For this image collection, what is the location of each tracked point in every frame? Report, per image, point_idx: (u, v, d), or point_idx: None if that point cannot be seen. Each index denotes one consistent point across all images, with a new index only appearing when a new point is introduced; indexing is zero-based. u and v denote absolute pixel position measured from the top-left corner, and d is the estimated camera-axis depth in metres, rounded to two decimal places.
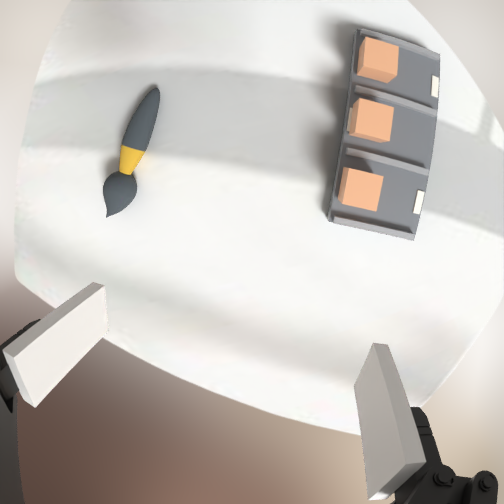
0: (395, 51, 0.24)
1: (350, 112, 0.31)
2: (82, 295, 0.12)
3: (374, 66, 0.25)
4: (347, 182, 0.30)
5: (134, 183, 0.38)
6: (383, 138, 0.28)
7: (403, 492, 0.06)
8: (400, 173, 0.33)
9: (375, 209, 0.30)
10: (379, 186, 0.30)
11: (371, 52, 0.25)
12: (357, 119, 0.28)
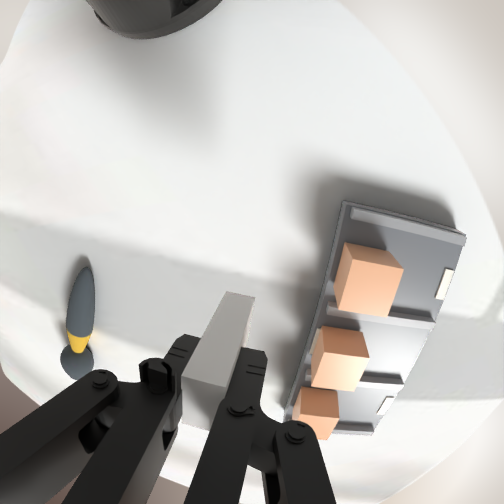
0: (395, 279, 0.19)
1: (316, 334, 0.26)
2: (226, 305, 0.14)
3: (355, 309, 0.21)
4: None
5: (88, 360, 0.34)
6: (346, 389, 0.23)
7: None
8: None
9: (326, 438, 0.26)
10: (333, 425, 0.25)
11: (356, 287, 0.20)
12: (316, 374, 0.23)
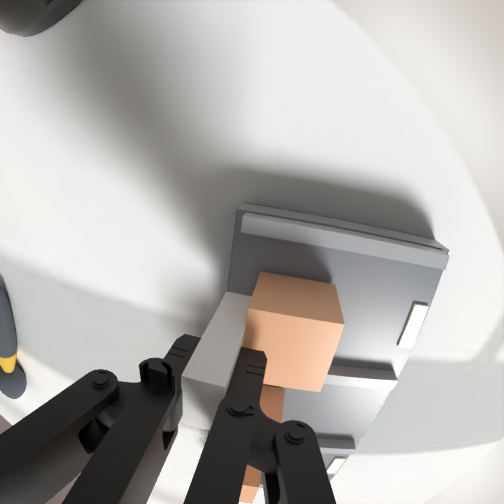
0: (330, 339, 0.12)
1: None
2: (226, 305, 0.14)
3: (265, 379, 0.13)
4: None
5: (18, 380, 0.26)
6: None
7: None
8: None
9: (250, 502, 0.18)
10: (253, 492, 0.17)
11: (261, 350, 0.12)
12: None
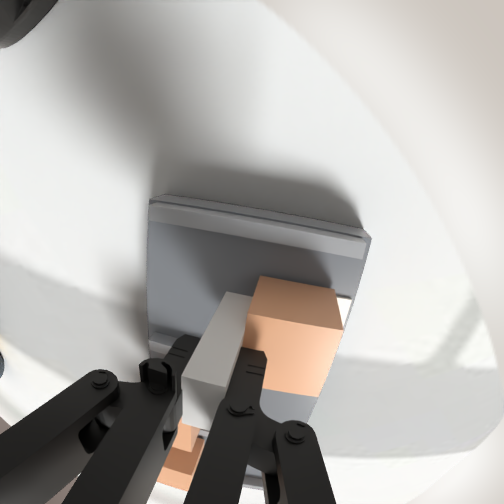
0: (329, 345, 0.12)
1: None
2: (226, 305, 0.14)
3: (263, 384, 0.13)
4: None
5: None
6: (180, 448, 0.16)
7: None
8: None
9: None
10: (188, 480, 0.18)
11: None
12: None
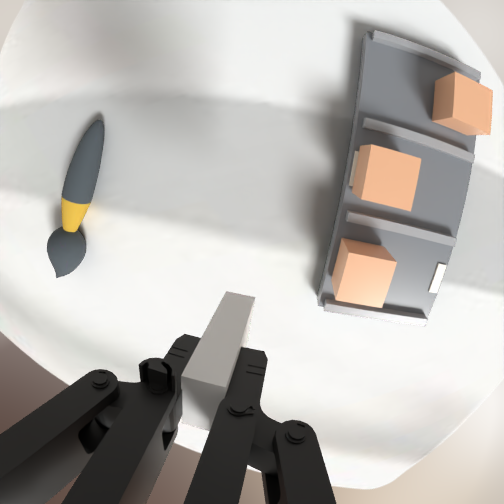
0: (489, 97, 0.15)
1: (355, 158, 0.23)
2: (226, 305, 0.14)
3: (465, 119, 0.16)
4: (345, 272, 0.22)
5: (80, 242, 0.29)
6: (402, 207, 0.19)
7: None
8: (418, 242, 0.24)
9: (380, 305, 0.22)
10: (389, 276, 0.21)
11: (462, 97, 0.16)
12: (366, 179, 0.19)
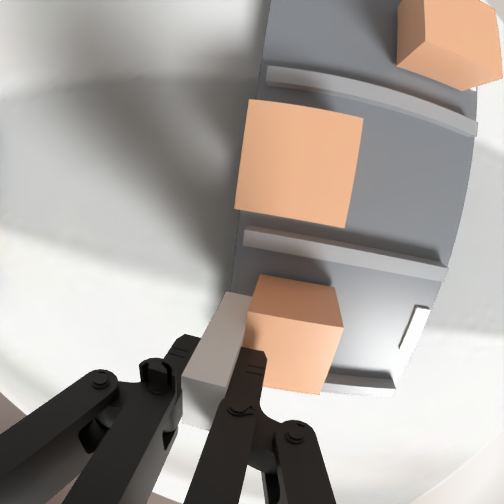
0: (491, 18, 0.06)
1: None
2: (226, 305, 0.14)
3: (452, 46, 0.07)
4: (245, 342, 0.12)
5: None
6: (325, 221, 0.10)
7: None
8: (380, 276, 0.15)
9: (317, 391, 0.13)
10: (330, 350, 0.12)
11: (441, 11, 0.07)
12: (242, 168, 0.10)
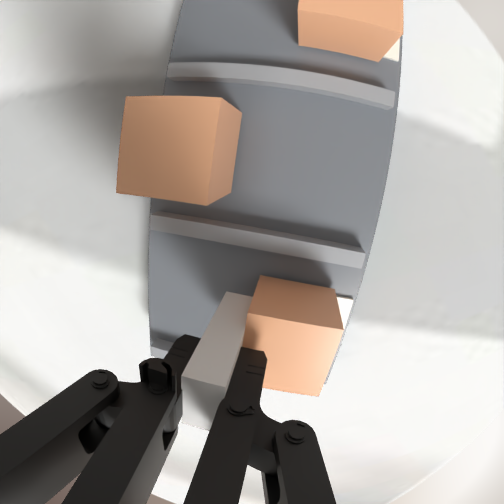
0: None
1: None
2: (226, 305, 0.14)
3: (333, 9, 0.08)
4: (245, 343, 0.12)
5: None
6: (188, 199, 0.11)
7: None
8: (290, 261, 0.15)
9: (316, 393, 0.13)
10: (330, 352, 0.12)
11: None
12: (121, 156, 0.11)
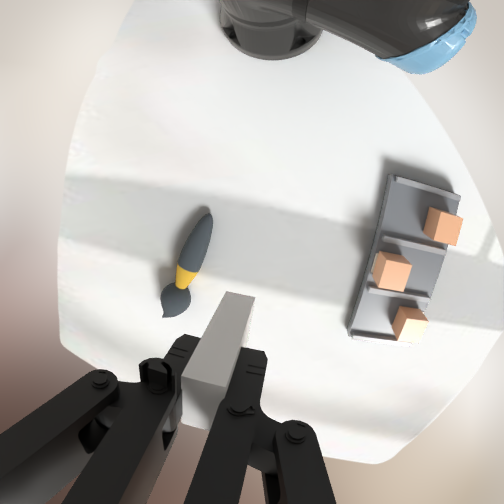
0: (459, 223, 0.33)
1: (376, 257, 0.40)
2: (226, 305, 0.14)
3: (441, 240, 0.34)
4: (403, 327, 0.39)
5: (189, 296, 0.47)
6: (399, 290, 0.37)
7: None
8: (407, 300, 0.42)
9: (418, 342, 0.39)
10: (424, 328, 0.38)
11: (442, 227, 0.33)
12: (381, 277, 0.37)
